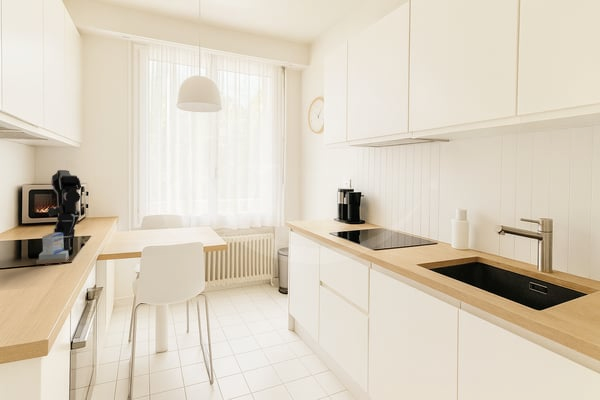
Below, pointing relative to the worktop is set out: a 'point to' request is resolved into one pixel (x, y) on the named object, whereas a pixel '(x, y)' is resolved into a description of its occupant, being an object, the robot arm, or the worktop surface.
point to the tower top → (54, 256)
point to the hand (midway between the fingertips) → (69, 232)
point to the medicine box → (53, 243)
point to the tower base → (51, 261)
